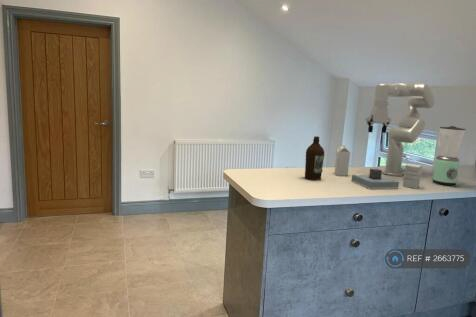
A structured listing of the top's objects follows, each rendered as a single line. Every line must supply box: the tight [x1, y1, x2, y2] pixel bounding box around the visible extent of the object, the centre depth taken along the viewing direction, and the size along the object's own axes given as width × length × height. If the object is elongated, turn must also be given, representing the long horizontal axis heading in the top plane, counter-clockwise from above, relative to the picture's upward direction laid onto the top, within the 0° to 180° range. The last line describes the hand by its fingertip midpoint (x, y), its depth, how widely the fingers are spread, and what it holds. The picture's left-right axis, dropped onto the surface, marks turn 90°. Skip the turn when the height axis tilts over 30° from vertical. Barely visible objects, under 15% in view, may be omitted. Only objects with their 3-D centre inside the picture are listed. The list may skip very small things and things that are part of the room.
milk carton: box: [333, 144, 351, 177], centre depth 229 cm, size 7×7×19 cm
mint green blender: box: [431, 125, 466, 186], centre depth 219 cm, size 19×13×35 cm
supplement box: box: [402, 163, 423, 190], centre depth 207 cm, size 7×7×13 cm
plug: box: [368, 168, 383, 180], centre depth 206 cm, size 4×4×8 cm
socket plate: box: [351, 173, 400, 190], centre depth 206 cm, size 18×18×5 cm
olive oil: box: [304, 135, 325, 181], centre depth 212 cm, size 11×11×25 cm
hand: (377, 132), depth 223 cm, fingers open, 9 cm apart
